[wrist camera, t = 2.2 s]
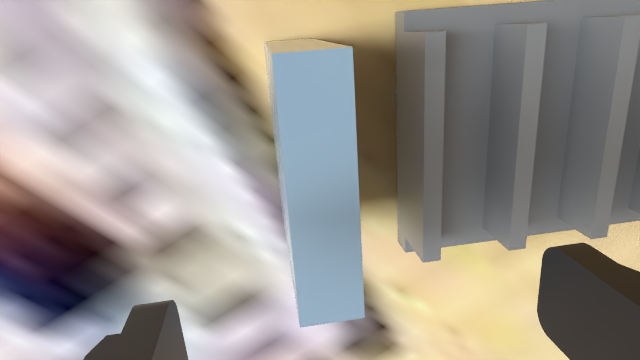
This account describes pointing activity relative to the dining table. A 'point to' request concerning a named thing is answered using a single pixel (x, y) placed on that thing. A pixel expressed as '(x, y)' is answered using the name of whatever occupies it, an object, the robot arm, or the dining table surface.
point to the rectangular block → (318, 175)
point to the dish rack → (516, 122)
